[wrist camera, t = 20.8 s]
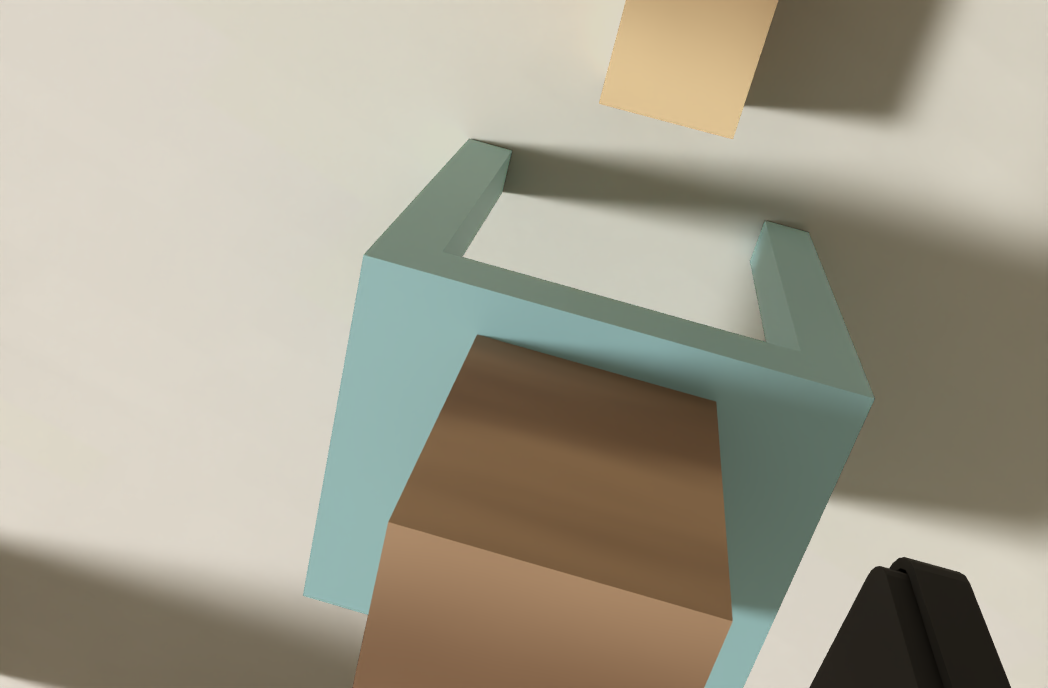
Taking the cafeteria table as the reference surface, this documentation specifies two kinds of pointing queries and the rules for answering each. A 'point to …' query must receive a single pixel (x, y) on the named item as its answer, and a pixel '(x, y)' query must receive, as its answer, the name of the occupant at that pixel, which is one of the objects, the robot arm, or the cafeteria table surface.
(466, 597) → the block
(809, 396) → the teal stool
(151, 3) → the cafeteria table surface
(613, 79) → the plank
